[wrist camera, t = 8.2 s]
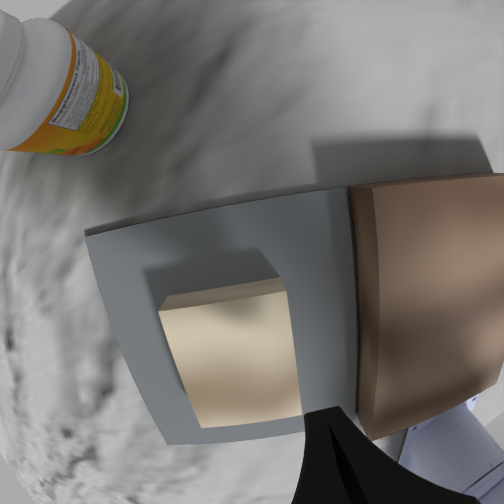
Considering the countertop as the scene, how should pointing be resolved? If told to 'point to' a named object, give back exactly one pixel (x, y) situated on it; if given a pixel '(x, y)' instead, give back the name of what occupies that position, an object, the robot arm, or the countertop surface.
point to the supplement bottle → (55, 91)
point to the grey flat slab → (227, 274)
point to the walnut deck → (427, 295)
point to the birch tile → (235, 352)
